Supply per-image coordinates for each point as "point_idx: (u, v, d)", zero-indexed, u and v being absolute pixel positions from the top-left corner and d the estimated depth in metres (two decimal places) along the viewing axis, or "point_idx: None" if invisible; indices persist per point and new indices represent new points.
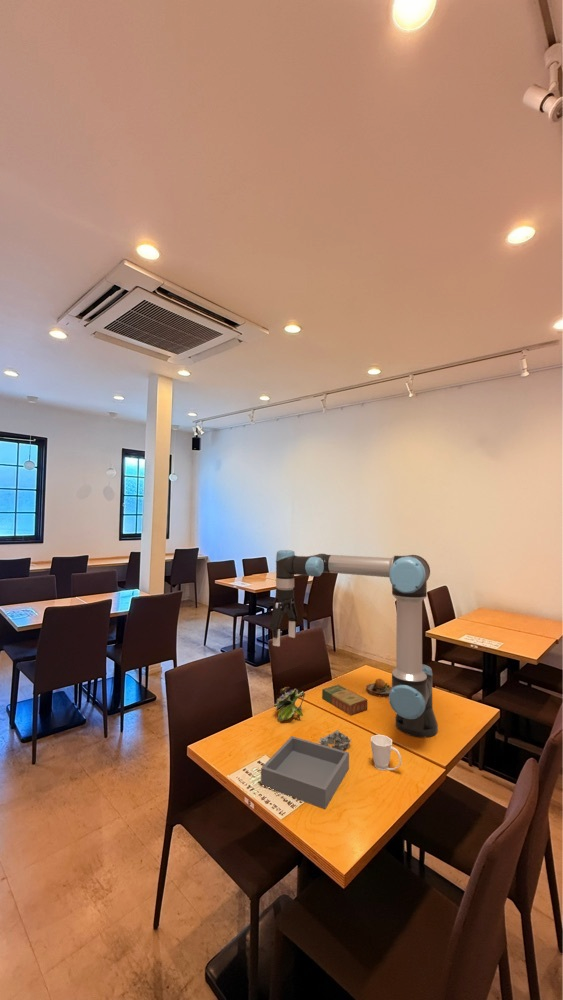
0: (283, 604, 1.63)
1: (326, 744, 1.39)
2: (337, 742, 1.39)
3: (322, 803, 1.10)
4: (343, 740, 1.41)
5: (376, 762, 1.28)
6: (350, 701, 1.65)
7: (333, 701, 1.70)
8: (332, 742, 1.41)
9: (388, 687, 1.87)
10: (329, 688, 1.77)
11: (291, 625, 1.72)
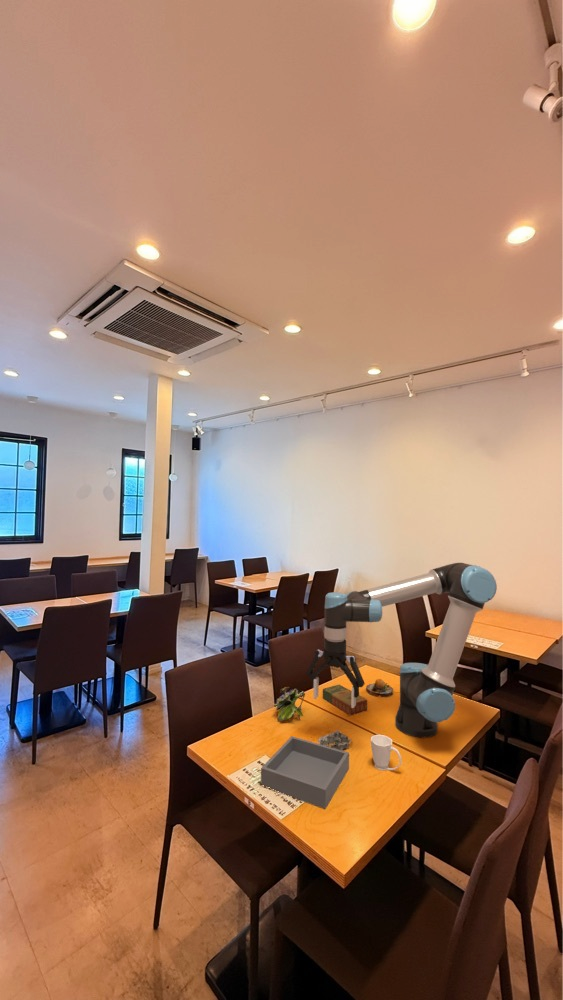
0: (325, 655, 1.41)
1: (325, 743, 1.39)
2: (337, 741, 1.39)
3: (322, 803, 1.10)
4: (343, 740, 1.41)
5: (376, 762, 1.28)
6: (350, 701, 1.64)
7: (333, 701, 1.70)
8: (332, 742, 1.41)
9: (388, 687, 1.87)
10: (330, 688, 1.77)
11: None
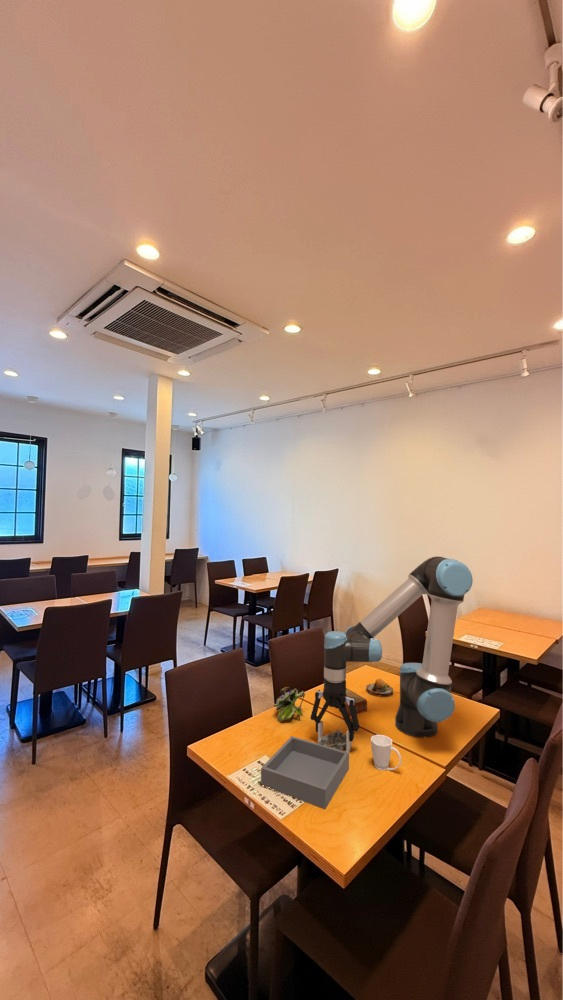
0: (324, 695, 1.40)
1: (326, 743, 1.40)
2: (337, 741, 1.39)
3: (322, 803, 1.10)
4: (344, 740, 1.41)
5: (376, 762, 1.28)
6: None
7: None
8: (333, 741, 1.42)
9: (388, 687, 1.87)
10: None
11: None
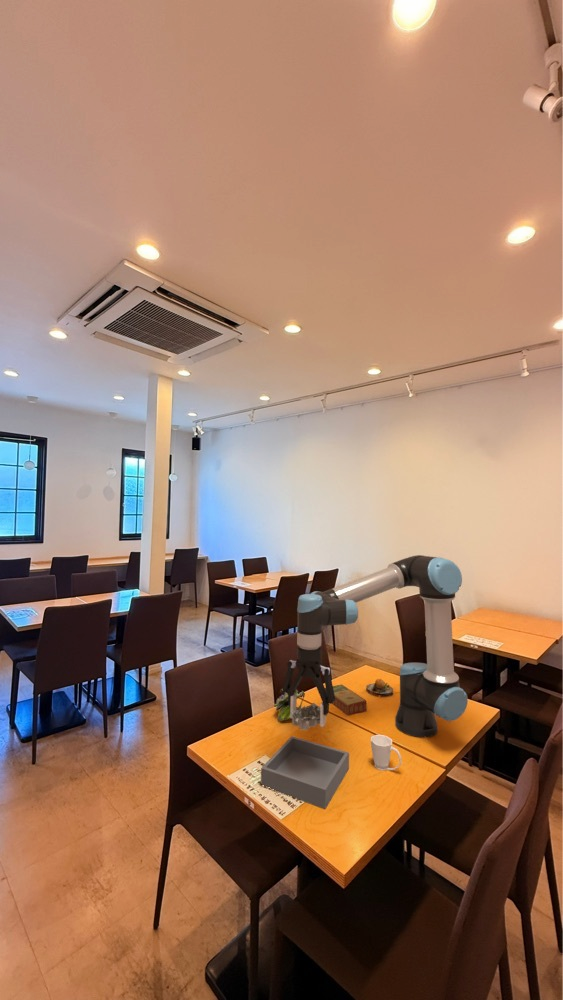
0: (297, 664, 1.26)
1: (299, 717, 1.26)
2: (312, 715, 1.25)
3: (322, 803, 1.10)
4: (319, 714, 1.27)
5: (376, 762, 1.28)
6: (349, 701, 1.64)
7: None
8: (307, 715, 1.28)
9: (388, 687, 1.87)
10: None
11: None
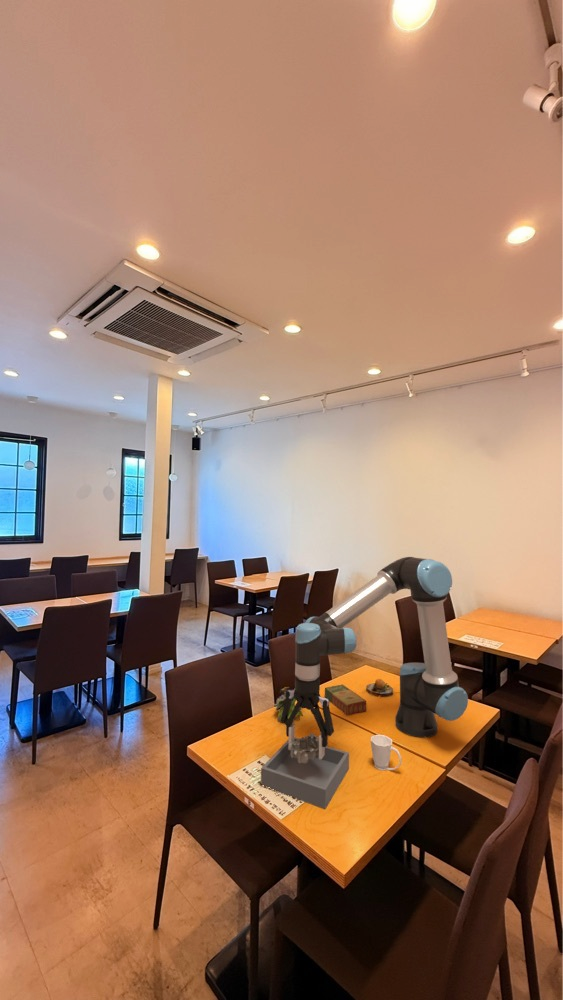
0: (296, 695, 1.25)
1: (297, 748, 1.24)
2: (310, 746, 1.23)
3: (322, 803, 1.10)
4: (317, 745, 1.25)
5: (376, 762, 1.28)
6: (348, 701, 1.64)
7: (333, 700, 1.71)
8: (305, 746, 1.26)
9: (388, 687, 1.87)
10: (332, 687, 1.78)
11: None
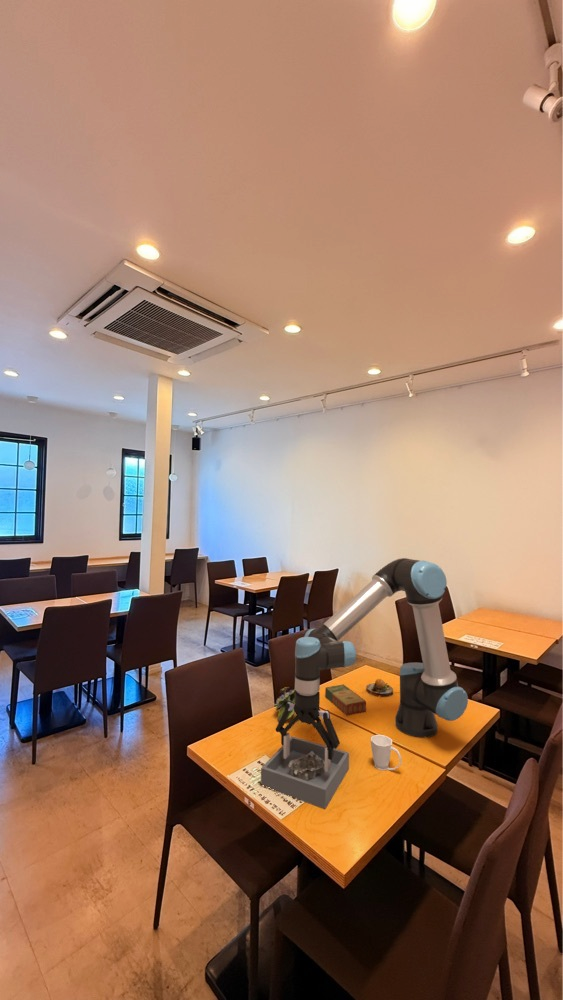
0: (295, 709, 1.24)
1: (298, 767, 1.24)
2: (310, 765, 1.23)
3: (322, 803, 1.10)
4: (317, 763, 1.25)
5: (376, 762, 1.28)
6: (348, 701, 1.64)
7: (333, 700, 1.71)
8: (305, 765, 1.26)
9: (388, 687, 1.87)
10: (332, 687, 1.78)
11: None
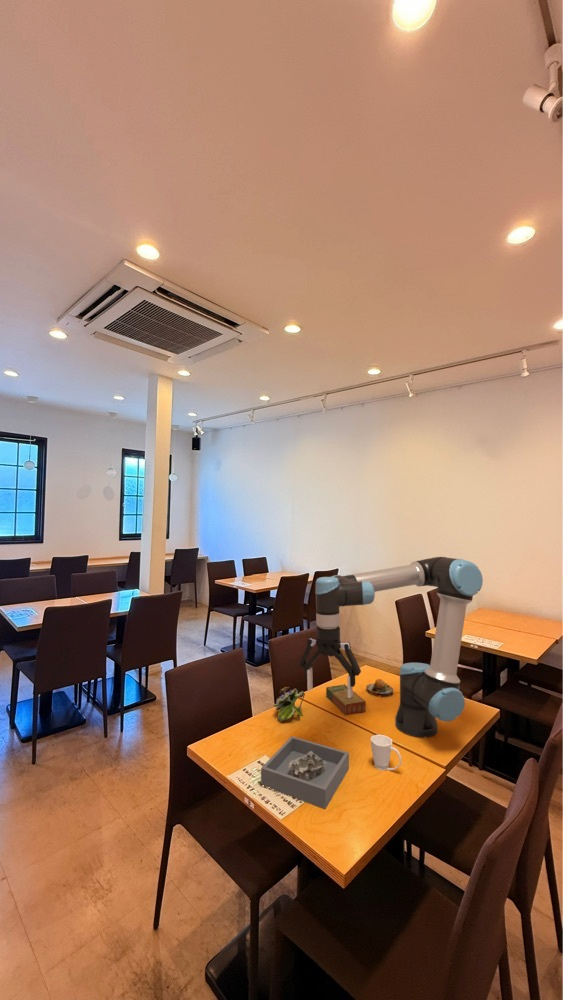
0: (318, 643, 1.32)
1: (297, 768, 1.24)
2: (310, 765, 1.23)
3: (322, 803, 1.10)
4: (317, 763, 1.26)
5: (376, 762, 1.28)
6: (347, 701, 1.64)
7: (333, 700, 1.72)
8: (305, 765, 1.26)
9: (388, 687, 1.87)
10: (333, 687, 1.79)
11: None
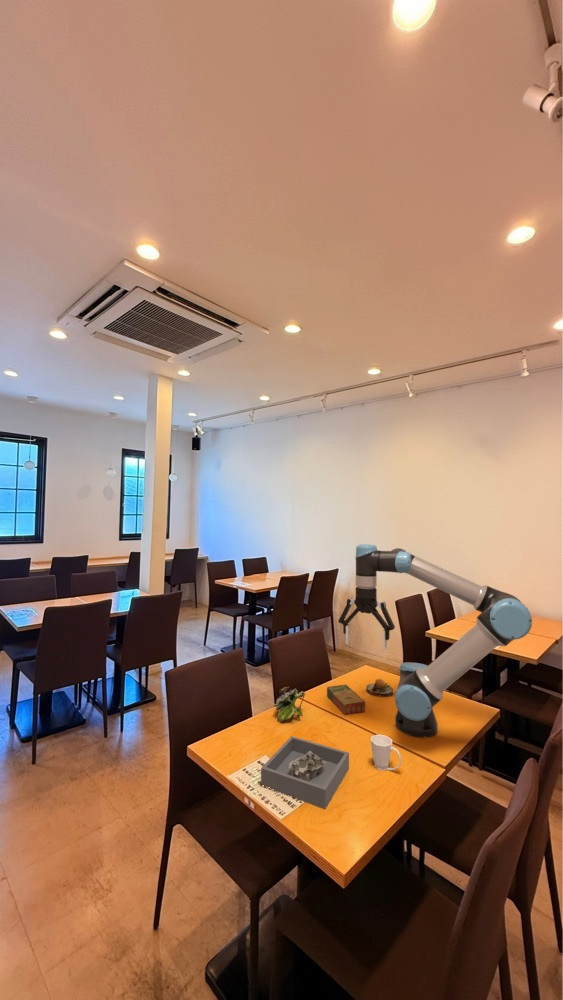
0: (356, 602, 1.50)
1: (297, 768, 1.24)
2: (310, 765, 1.23)
3: (322, 803, 1.10)
4: (316, 762, 1.26)
5: (376, 762, 1.28)
6: (346, 701, 1.65)
7: (334, 699, 1.72)
8: (304, 765, 1.26)
9: (388, 687, 1.87)
10: (334, 687, 1.79)
11: None
